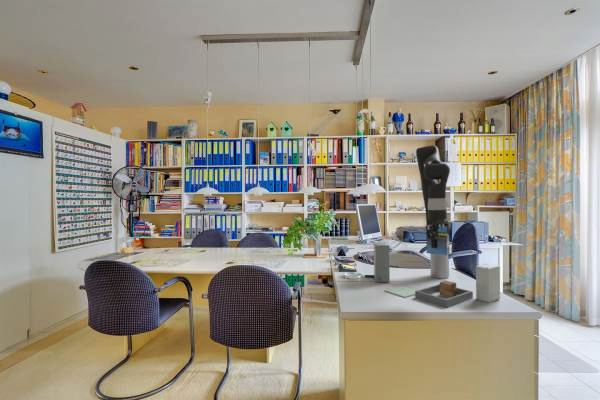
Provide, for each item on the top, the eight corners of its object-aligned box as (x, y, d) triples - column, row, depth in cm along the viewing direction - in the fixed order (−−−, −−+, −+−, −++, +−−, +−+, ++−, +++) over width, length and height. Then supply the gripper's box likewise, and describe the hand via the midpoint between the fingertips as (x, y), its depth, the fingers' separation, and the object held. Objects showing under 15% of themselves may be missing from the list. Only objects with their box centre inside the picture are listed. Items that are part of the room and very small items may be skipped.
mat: (400, 286, 149) (400, 285, 149) (421, 292, 139) (421, 291, 139) (384, 291, 142) (384, 290, 142) (404, 297, 132) (404, 296, 132)
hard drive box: (390, 283, 156) (389, 245, 156) (375, 282, 158) (374, 245, 158) (387, 275, 171) (386, 241, 171) (373, 275, 173) (373, 241, 173)
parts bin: (441, 289, 143) (440, 283, 143) (472, 298, 130) (472, 291, 130) (415, 297, 132) (415, 290, 132) (447, 307, 120) (447, 300, 120)
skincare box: (487, 295, 133) (486, 263, 133) (501, 299, 128) (500, 265, 128) (475, 298, 130) (474, 265, 130) (489, 302, 124) (488, 267, 124)
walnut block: (445, 293, 138) (445, 280, 138) (456, 295, 134) (456, 282, 134) (439, 294, 136) (439, 282, 136) (450, 297, 131) (450, 284, 131)
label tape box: (450, 254, 128) (449, 226, 128) (446, 255, 125) (446, 226, 125) (429, 252, 134) (429, 225, 134) (425, 253, 131) (425, 225, 131)
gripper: (438, 208, 136) (439, 244, 136) (419, 209, 129) (420, 248, 129) (454, 208, 130) (455, 246, 130) (435, 209, 122) (436, 250, 122)
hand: (437, 247), depth 129 cm, fingers closed on label tape box, 4 cm apart
